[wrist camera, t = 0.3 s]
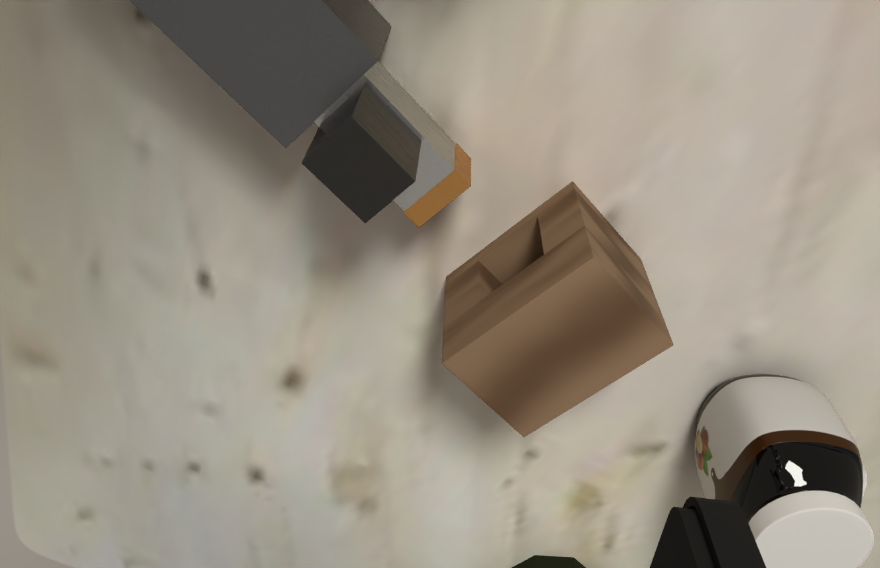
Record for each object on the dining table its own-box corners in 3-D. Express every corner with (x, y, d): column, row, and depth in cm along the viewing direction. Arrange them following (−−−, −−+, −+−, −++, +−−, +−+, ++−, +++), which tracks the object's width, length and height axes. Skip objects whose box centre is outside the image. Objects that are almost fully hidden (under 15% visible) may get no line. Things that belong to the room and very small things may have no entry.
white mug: (717, 350, 51) (777, 480, 41) (882, 369, 51) (980, 503, 41) (668, 477, 57) (709, 616, 47) (815, 493, 58) (886, 635, 48)
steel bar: (132, -95, 36) (46, -71, 29) (179, -154, 35) (101, -146, 28) (422, 198, 44) (412, 275, 37) (470, 158, 43) (470, 229, 35)
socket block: (446, 276, 48) (441, 363, 41) (572, 181, 45) (593, 257, 37) (515, 343, 51) (523, 437, 43) (640, 259, 47) (673, 345, 40)
